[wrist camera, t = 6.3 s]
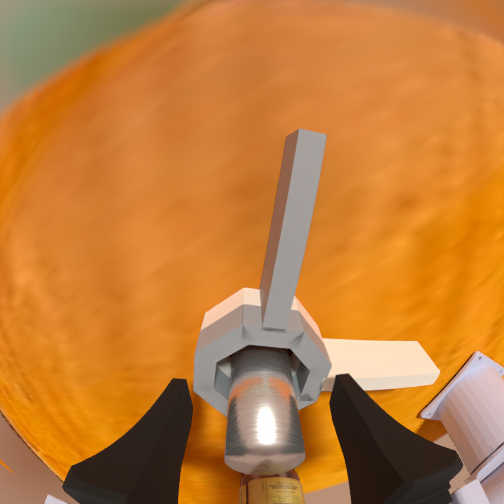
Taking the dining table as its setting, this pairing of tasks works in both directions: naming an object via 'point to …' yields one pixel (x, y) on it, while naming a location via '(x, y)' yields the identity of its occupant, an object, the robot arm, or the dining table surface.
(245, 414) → the hinge pin
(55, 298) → the dining table surface
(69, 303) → the dining table surface
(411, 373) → the hinge
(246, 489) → the sauce bottle
